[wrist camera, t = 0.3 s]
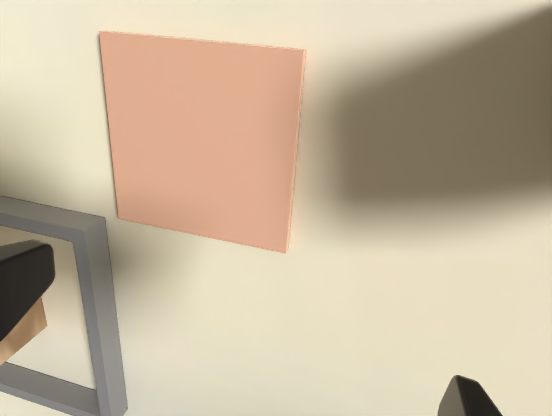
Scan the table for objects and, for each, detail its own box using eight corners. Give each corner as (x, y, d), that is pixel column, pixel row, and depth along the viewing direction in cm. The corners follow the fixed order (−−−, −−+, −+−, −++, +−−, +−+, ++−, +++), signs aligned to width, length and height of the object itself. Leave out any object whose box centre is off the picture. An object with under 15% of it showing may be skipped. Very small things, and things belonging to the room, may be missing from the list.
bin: (127, 408, 35) (113, 429, 34) (-42, 354, 40) (-62, 370, 38) (105, 217, 28) (84, 230, 26) (-102, 174, 32) (-132, 183, 30)
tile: (288, 248, 25) (285, 253, 24) (124, 214, 27) (118, 218, 27) (306, 49, 20) (303, 50, 20) (106, 30, 23) (99, 31, 22)
